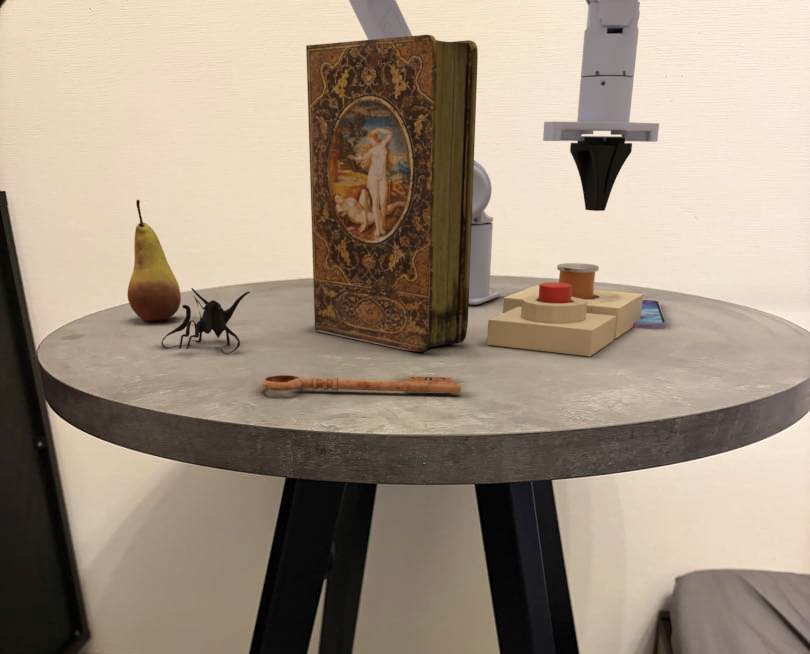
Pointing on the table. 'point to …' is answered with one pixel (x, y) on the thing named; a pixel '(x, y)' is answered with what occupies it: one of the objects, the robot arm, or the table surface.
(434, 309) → the book
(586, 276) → the cylinder
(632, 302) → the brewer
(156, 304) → the fruit
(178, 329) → the creature
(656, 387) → the table surface
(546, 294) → the button
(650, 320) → the smartphone
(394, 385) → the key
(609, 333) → the panel
